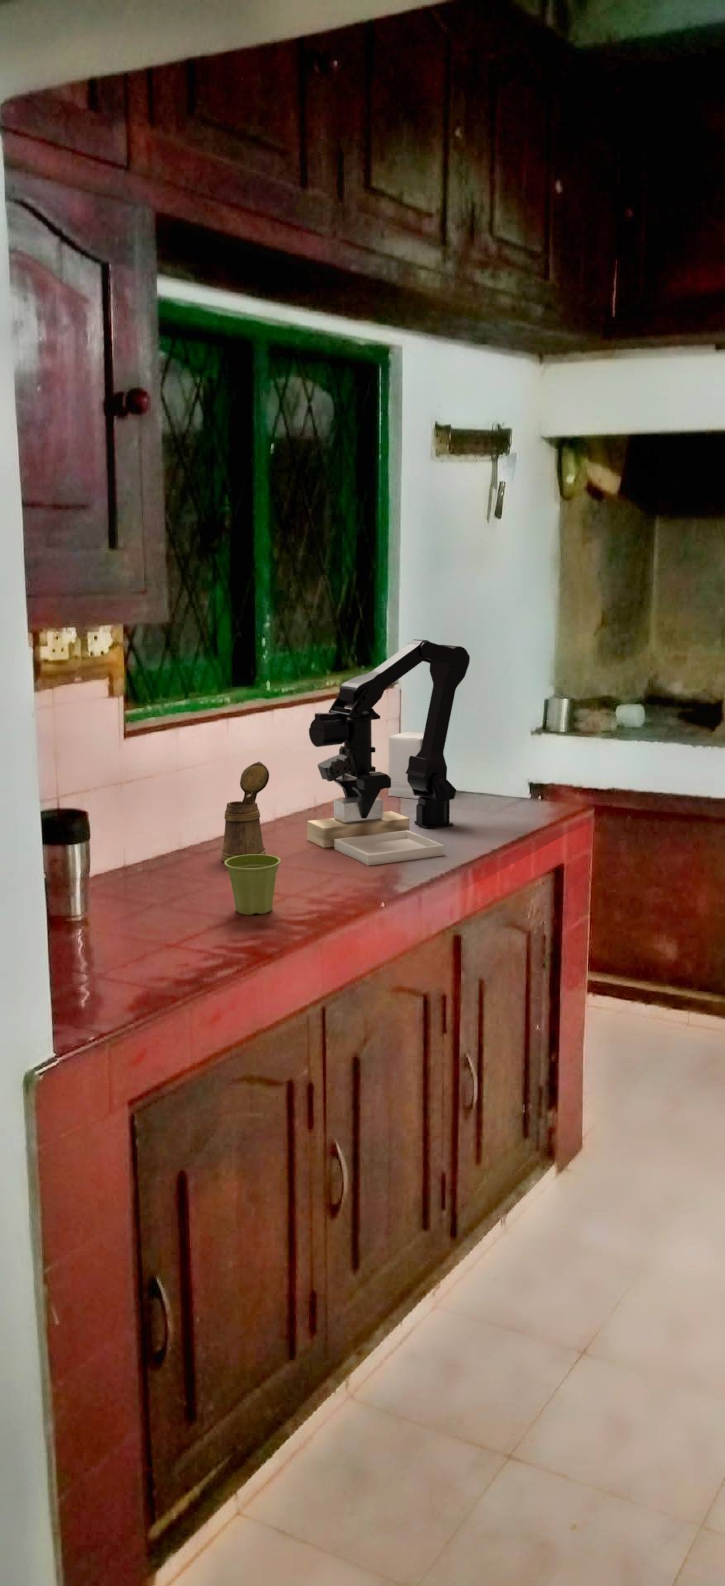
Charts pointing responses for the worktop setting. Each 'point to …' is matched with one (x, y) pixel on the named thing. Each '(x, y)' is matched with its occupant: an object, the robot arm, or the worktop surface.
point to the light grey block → (356, 810)
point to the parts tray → (388, 847)
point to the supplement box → (402, 762)
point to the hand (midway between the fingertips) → (358, 815)
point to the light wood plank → (353, 828)
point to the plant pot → (253, 882)
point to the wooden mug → (245, 816)
